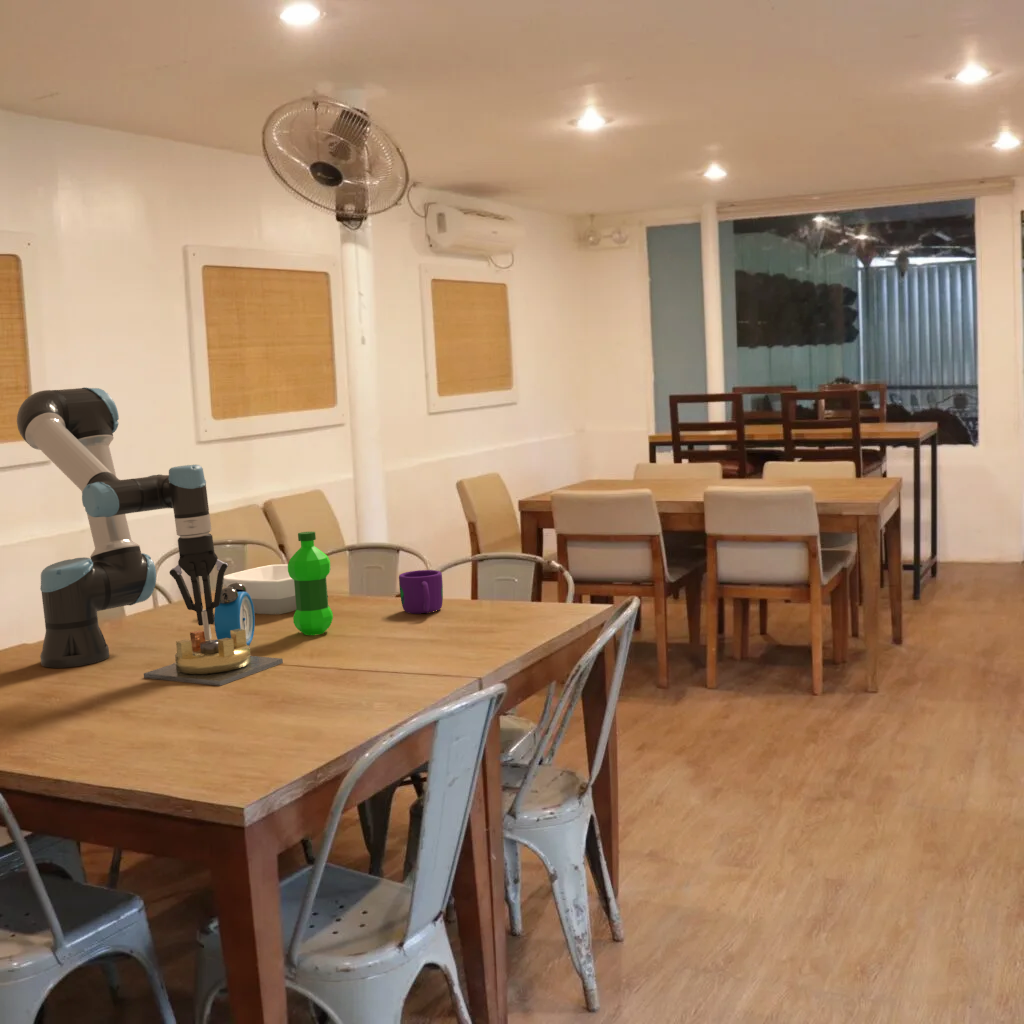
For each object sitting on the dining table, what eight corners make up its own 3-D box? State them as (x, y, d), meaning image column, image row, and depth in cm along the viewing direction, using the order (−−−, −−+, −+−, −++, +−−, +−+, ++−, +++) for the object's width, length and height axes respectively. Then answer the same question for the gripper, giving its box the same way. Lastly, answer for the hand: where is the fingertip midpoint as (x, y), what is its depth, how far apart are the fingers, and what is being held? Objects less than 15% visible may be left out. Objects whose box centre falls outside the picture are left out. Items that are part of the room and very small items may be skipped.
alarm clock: (241, 653, 284) (236, 589, 282) (215, 654, 285) (210, 590, 283) (257, 640, 297) (252, 579, 295) (232, 641, 298) (227, 580, 296)
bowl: (341, 602, 341) (338, 566, 340) (279, 620, 320) (276, 582, 319) (276, 597, 354) (273, 563, 353) (213, 615, 333) (209, 578, 332)
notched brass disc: (197, 677, 257) (194, 647, 256) (163, 666, 269) (160, 637, 269) (264, 662, 268) (261, 633, 267) (229, 652, 280) (226, 624, 279)
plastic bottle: (340, 633, 299) (332, 532, 296) (297, 639, 295) (289, 537, 292) (330, 626, 308) (323, 528, 306) (289, 632, 305) (281, 532, 302)
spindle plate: (144, 677, 265) (143, 672, 265) (208, 656, 283) (208, 651, 283) (220, 685, 255) (219, 680, 254) (282, 662, 272) (282, 657, 272)
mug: (398, 608, 327) (396, 572, 325) (441, 604, 329) (438, 568, 328) (406, 621, 310) (403, 582, 308) (450, 617, 312) (448, 578, 311)
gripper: (162, 540, 266) (177, 646, 269) (221, 534, 267) (235, 639, 270) (168, 536, 274) (182, 638, 276) (225, 529, 275) (238, 632, 278)
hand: (208, 638), depth 273 cm, fingers closed
